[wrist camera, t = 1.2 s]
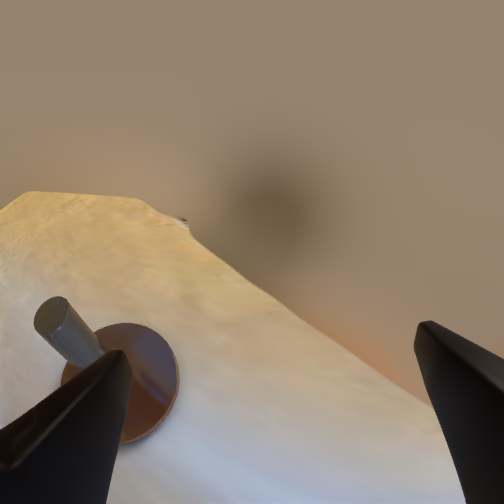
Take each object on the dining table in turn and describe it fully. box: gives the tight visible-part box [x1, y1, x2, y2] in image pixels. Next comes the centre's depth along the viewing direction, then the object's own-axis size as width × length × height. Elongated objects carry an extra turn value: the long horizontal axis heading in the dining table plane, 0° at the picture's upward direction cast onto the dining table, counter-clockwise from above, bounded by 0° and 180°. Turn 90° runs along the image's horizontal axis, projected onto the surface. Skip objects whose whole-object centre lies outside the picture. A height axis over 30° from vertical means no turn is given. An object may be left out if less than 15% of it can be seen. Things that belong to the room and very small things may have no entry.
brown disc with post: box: [34, 296, 179, 444], centre depth 20 cm, size 12×12×11 cm
